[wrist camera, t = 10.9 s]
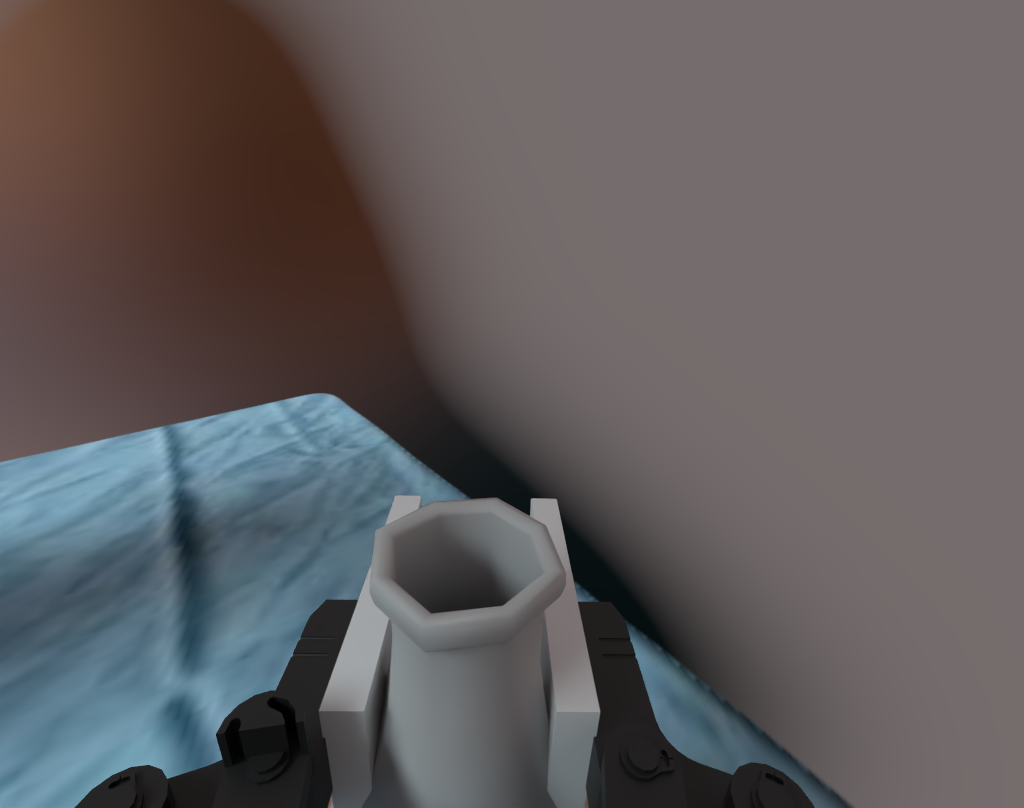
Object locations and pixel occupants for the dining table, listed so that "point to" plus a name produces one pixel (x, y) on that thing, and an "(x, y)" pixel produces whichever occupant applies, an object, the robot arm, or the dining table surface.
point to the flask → (464, 657)
